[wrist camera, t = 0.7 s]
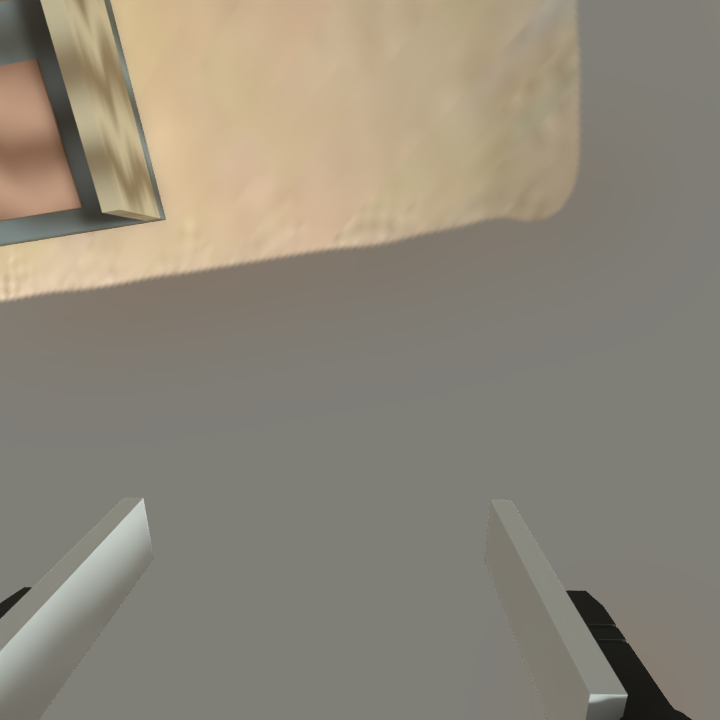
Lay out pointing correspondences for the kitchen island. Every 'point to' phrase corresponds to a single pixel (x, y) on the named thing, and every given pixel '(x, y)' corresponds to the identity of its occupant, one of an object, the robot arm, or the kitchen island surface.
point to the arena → (68, 124)
